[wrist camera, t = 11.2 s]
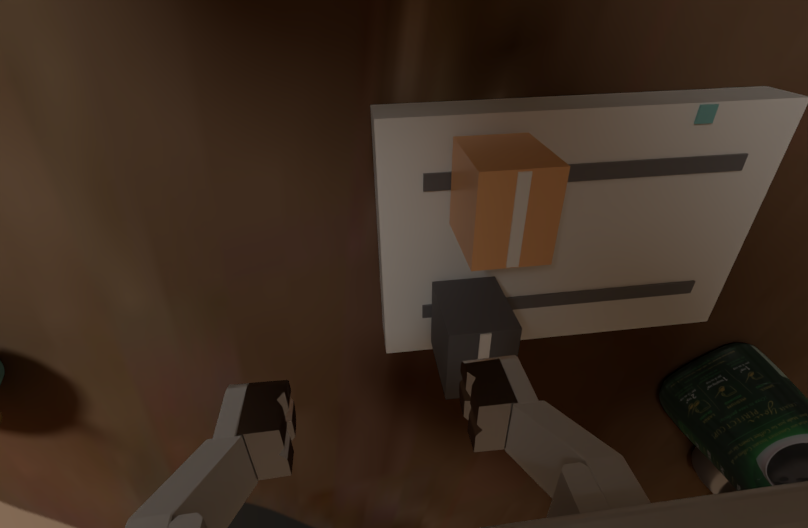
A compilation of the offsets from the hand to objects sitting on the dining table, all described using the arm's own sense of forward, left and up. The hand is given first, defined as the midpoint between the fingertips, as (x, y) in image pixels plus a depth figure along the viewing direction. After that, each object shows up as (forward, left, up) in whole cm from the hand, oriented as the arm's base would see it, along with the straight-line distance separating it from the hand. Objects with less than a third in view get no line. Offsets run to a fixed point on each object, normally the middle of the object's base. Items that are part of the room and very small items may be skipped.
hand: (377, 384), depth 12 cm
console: (+13, -5, -17) cm, 22 cm away
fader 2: (+6, -9, -14) cm, 18 cm away
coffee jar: (+31, -23, -17) cm, 42 cm away
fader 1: (+7, 0, -14) cm, 15 cm away
